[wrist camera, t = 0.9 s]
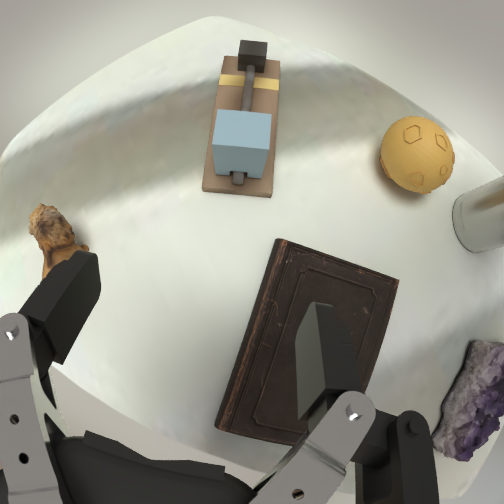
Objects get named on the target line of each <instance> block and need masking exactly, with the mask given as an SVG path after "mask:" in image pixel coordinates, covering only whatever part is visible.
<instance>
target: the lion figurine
mask: <svg viewBox="0 0 504 504" xmlns="http://www.w3.org/2000/svg"><path fill="white" fill-rule="evenodd" d="M29 233H30V234H31V235H34V237H35V239H36V240H37V241H38V244H39V248H40V249H41V250H42V251H43V254H44V265H43V272H42V280H43V279H44V277H45V278H46V275H47V274H48V272H49V271H50V270H51V269H52V267H53V266H55V265H56V264H58V263H60V262H61V261H63V260H67V261H68V260H69V258H70V257H71V256H72V255H73V254H74V252H75V251H76V250H83V251H87V252H88V251H89V248H88V246H87V245H85V244H84V245H81V247H80V246H79V245H77V244H75V243H74V238H75V237H74V236H75V235H74V233H73V232H72V227H71V225H70V224H69V223H68V222H67V220H65V218H64V216H63V215H61V214H60V212H58V211H57V209H56V208H55V207H54V206H45V205H43V204H41V203H40V204H39V205H38V207H37V208H35V210H34V212H33V213H32V214H31V215H30V225H29Z"/></svg>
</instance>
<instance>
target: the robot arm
mask: <svg viewBox="0 0 504 504" xmlns="http://www.w3.org/2000/svg"><path fill="white" fill-rule="evenodd" d="M453 223H454V228H455V231H456V234H457V236H458V238H459V240H460V242H461V243H462V244H463V246H464V247H465V248H467V249H468V250H469V251H472V252H480V251H485V250H490V249H495V248H500V247H504V176H502V177H500V178H498V179H496V180H494V181H491V182H489V183H487V184H485V185H483V186H481V187H479V188H476V189H474V190H472V191H470V192H468V193H466V194H463V195H461V196H460V197H459V198H458V199H457V200H456V202H455V205H454V208H453ZM100 292H101V281H100V273H99V265H98V257H97V255H96V254H94V253H91V252H87V251H83V250H76V251H75V252H74V254H73V255H72V256H71V257H70V258H69V260H68V261H67V260H63V261H61V262H60V263H58V264H56V265H55V266H53V267H52V269H51V270H50V271H49V272H48V274H47V275H46V278H45V277H44V279H43V280H42V281H41V282H40V285H38V286H37V288H36V289H35V290H34V292H33V293H32V294H31V296H30V297H29V298H28V300H27V301H26V302H25V304H24V305H23V306H22V308H21V309H20V311H19V312H18V313H9V314H6V315H4V316H3V317H1V318H0V460H1V463H2V467H3V469H1V470H0V504H326V503H327V501H328V500H329V499H330V497H331V496H332V495H333V493H334V492H335V491H336V489H337V488H338V486H339V485H340V484H341V482H342V481H343V479H344V477H345V475H346V470H345V467H346V465H347V464H348V462H349V461H352V462H355V481H356V504H439V493H438V484H437V475H436V468H435V460H434V454H433V448H432V442H431V436H430V431H429V426H428V423H427V421H426V419H425V418H424V417H423V416H422V415H421V414H420V413H418V412H416V411H411V410H410V411H405V412H403V413H402V414H401V415H399V416H398V417H397V416H394V415H391V414H388V413H385V412H382V411H379V410H377V409H375V407H374V404H373V403H372V401H371V400H370V399H369V398H368V397H367V396H366V395H364V394H363V393H362V389H361V384H360V378H359V373H358V368H357V363H356V358H355V356H354V354H355V353H354V348H353V346H352V345H353V343H352V339H351V334H350V331H349V330H348V328H347V327H346V325H345V324H344V322H343V321H339V320H336V317H335V312H334V308H333V306H332V305H329V304H323V303H318V302H312V303H311V304H310V305H309V308H308V310H307V312H306V314H305V316H304V318H303V320H302V322H301V324H300V326H299V328H298V331H297V334H296V340H295V351H296V372H297V399H298V420H299V421H308V430H307V431H306V432H305V433H304V434H303V436H302V437H301V438H300V439H299V440H298V441H297V443H296V444H295V445H294V446H293V447H292V448H291V449H290V451H289V452H288V453H287V454H286V455H285V456H284V457H283V458H282V459H281V460H280V462H279V463H278V464H277V465H276V466H275V467H274V468H273V469H272V470H271V471H270V472H268V473H267V474H266V475H265V476H264V477H263V478H262V479H261V480H260V481H259V482H258V483H257V484H256V485H255V486H254V487H253V488H251V487H249V486H248V485H247V484H245V483H244V482H243V481H241V480H239V479H238V478H236V477H234V476H232V475H230V474H227V473H225V472H224V471H225V466H221V465H214V464H208V463H202V462H197V461H191V460H151V459H148V458H145V457H144V456H142V455H140V454H139V453H137V452H135V451H133V450H131V449H130V448H128V447H126V446H124V445H123V444H121V443H119V442H118V441H115V440H112V439H109V438H106V437H103V436H101V435H98V434H95V433H92V432H90V431H87V430H86V432H85V434H84V437H83V436H73V437H71V435H70V432H69V429H68V427H67V425H66V423H65V421H64V419H63V417H62V414H61V411H60V407H59V404H58V400H57V396H56V392H55V388H54V383H53V379H52V374H51V370H50V368H49V367H50V365H51V364H52V362H53V361H54V362H57V363H59V364H61V365H63V363H64V361H65V359H66V357H67V355H68V353H69V351H70V350H71V348H72V346H73V344H74V342H75V340H76V338H77V336H78V334H79V333H80V331H81V329H82V327H83V325H84V324H85V322H86V320H87V318H88V316H89V315H90V313H91V311H92V309H93V308H94V306H95V304H96V303H97V301H98V299H99V296H100Z"/></svg>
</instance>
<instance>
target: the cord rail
mask: <svg viewBox="0 0 504 504" xmlns="http://www.w3.org/2000/svg"><path fill="white" fill-rule="evenodd" d="M266 54H267V42H258V41H247V40H241V41H240V47H239V53H238V57H236V56H224V61H223V65H222V70H221V75H220V80H219V86H218V91H217V96H216V102H215V107H214V113H213V119H212V125H211V130H210V137H209V143H208V149H207V155H206V162H205V169H204V176H203V183H202V190H203V191H204V192H217V193H228V194H239V195H250V196H260V197H269V198H271V195H272V189H273V174H274V159H275V143H276V126H277V109H278V91H279V72H280V61H275V60H267V59H266ZM218 109H223V110H236V111H247V112H257V113H266V114H272V116H271V131H270V145H269V152H268V156H267V159H266V163H265V167H264V170H263V174H262V178H261V179H260V178H251V177H247V174H248V172H237V171H230V176H229V175H217V174H215V167H214V158H213V150H212V140H213V134H214V128H215V122H216V116H217V110H218Z"/></svg>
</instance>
